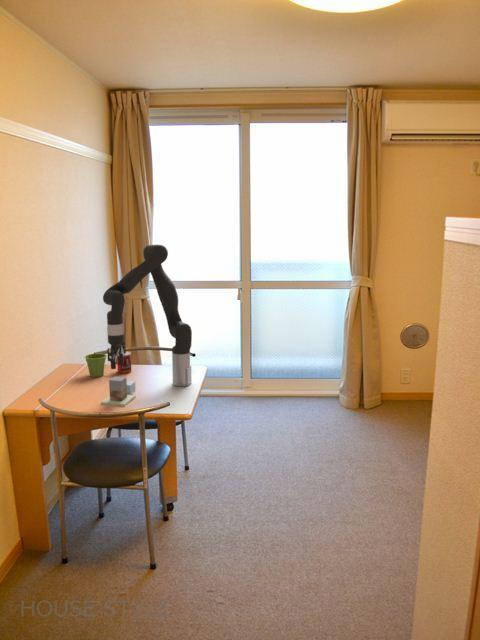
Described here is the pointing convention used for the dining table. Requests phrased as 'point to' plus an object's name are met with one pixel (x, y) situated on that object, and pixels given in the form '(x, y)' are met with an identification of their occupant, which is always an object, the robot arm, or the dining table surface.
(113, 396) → the walnut block
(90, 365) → the plant pot
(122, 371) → the canned food
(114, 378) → the grey block
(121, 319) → the robot arm
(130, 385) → the blue block
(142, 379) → the dining table surface
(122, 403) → the plate
